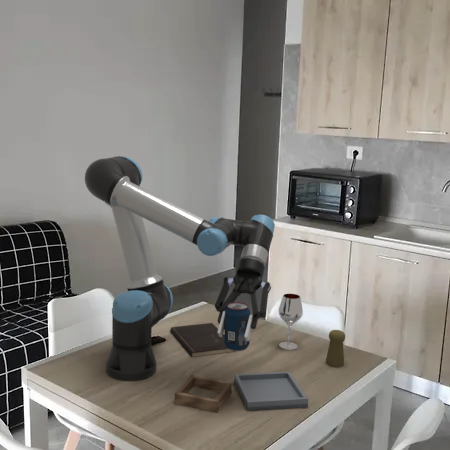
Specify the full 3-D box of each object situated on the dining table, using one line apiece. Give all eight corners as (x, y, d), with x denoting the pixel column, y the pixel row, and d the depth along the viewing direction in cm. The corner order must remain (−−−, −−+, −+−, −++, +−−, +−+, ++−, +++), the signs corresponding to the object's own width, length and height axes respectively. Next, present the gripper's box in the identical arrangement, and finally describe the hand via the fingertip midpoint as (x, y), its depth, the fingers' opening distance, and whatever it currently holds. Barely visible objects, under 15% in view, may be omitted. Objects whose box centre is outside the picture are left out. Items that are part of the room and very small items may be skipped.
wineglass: (294, 353, 198) (297, 301, 194) (272, 347, 202) (275, 296, 198) (304, 345, 205) (307, 295, 201) (282, 339, 209) (286, 291, 205)
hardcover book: (211, 328, 218) (212, 322, 217) (236, 353, 197) (237, 346, 196) (170, 333, 212) (170, 327, 211) (191, 359, 191) (191, 352, 190)
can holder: (174, 403, 160) (174, 393, 160) (191, 384, 172) (191, 374, 171) (217, 412, 157) (217, 402, 156) (231, 392, 168) (232, 382, 168)
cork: (346, 361, 193) (349, 330, 190) (341, 368, 187) (344, 336, 185) (328, 357, 195) (330, 326, 193) (323, 364, 190) (325, 332, 187)
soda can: (231, 340, 167) (232, 299, 164) (253, 345, 163) (254, 304, 161) (219, 348, 161) (220, 306, 159) (242, 354, 158) (243, 311, 155)
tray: (247, 410, 158) (248, 402, 158) (234, 382, 175) (234, 374, 174) (307, 407, 162) (308, 398, 161) (289, 379, 178) (289, 371, 178)
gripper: (287, 274, 170) (271, 348, 158) (222, 266, 176) (202, 337, 164) (284, 260, 164) (266, 336, 152) (217, 253, 170) (195, 325, 158)
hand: (233, 336), depth 158 cm, fingers closed on soda can, 7 cm apart
